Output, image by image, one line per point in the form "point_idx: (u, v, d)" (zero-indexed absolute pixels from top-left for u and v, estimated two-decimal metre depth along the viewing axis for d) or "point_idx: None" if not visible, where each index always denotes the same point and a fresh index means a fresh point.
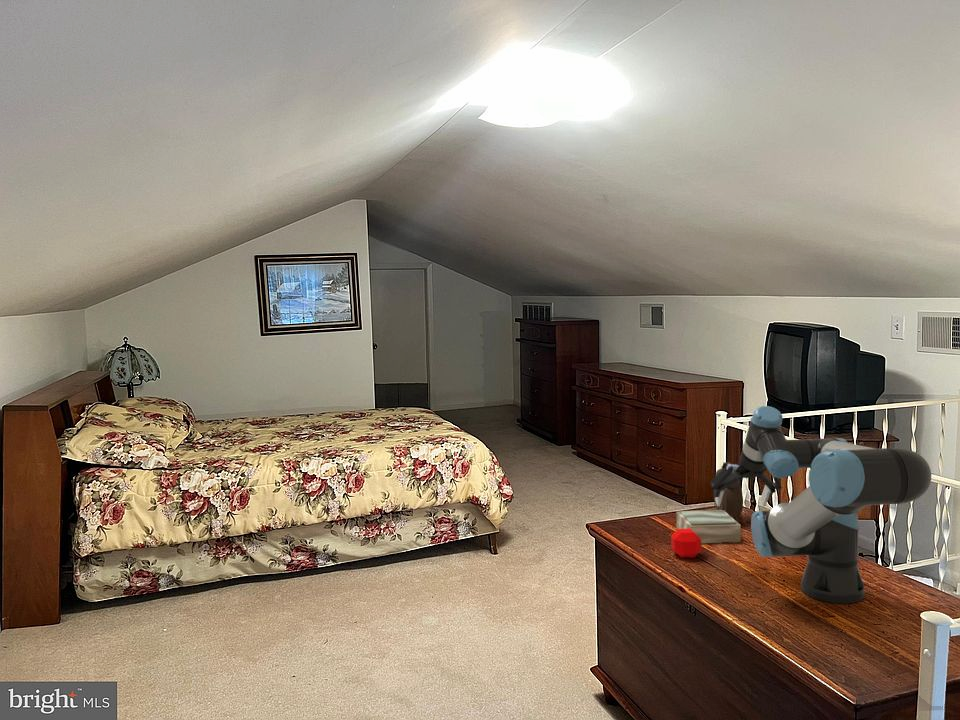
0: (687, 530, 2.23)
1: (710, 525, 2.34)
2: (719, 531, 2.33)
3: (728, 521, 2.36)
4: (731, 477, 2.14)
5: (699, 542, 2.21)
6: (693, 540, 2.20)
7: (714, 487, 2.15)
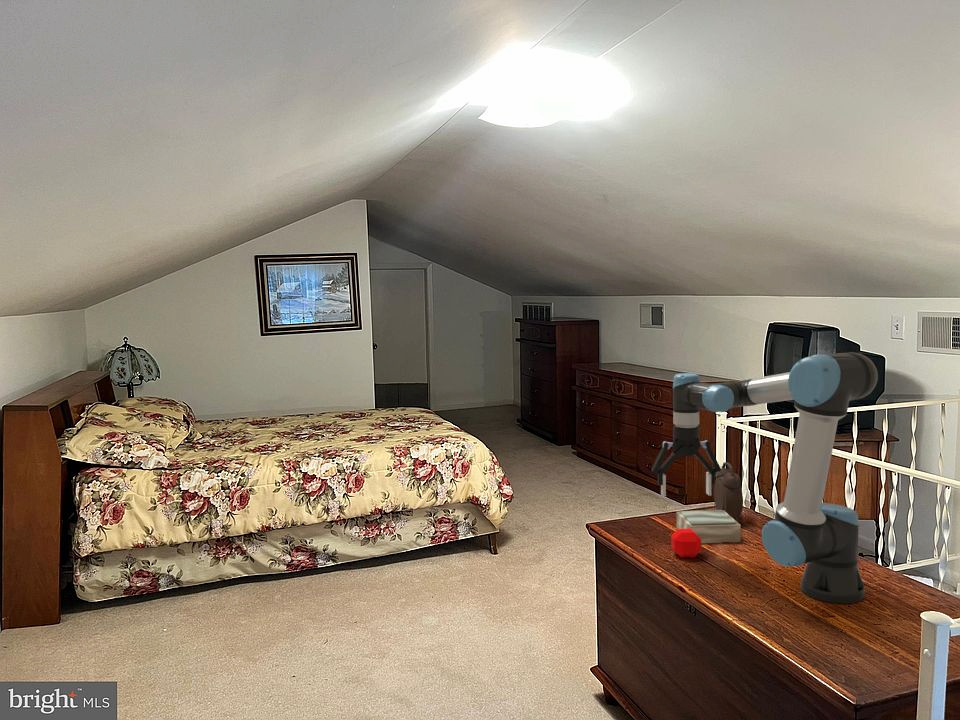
0: (687, 530, 2.23)
1: (710, 525, 2.34)
2: (719, 531, 2.33)
3: (728, 521, 2.36)
4: (669, 458, 2.21)
5: (699, 542, 2.21)
6: (693, 540, 2.20)
7: (655, 469, 2.20)
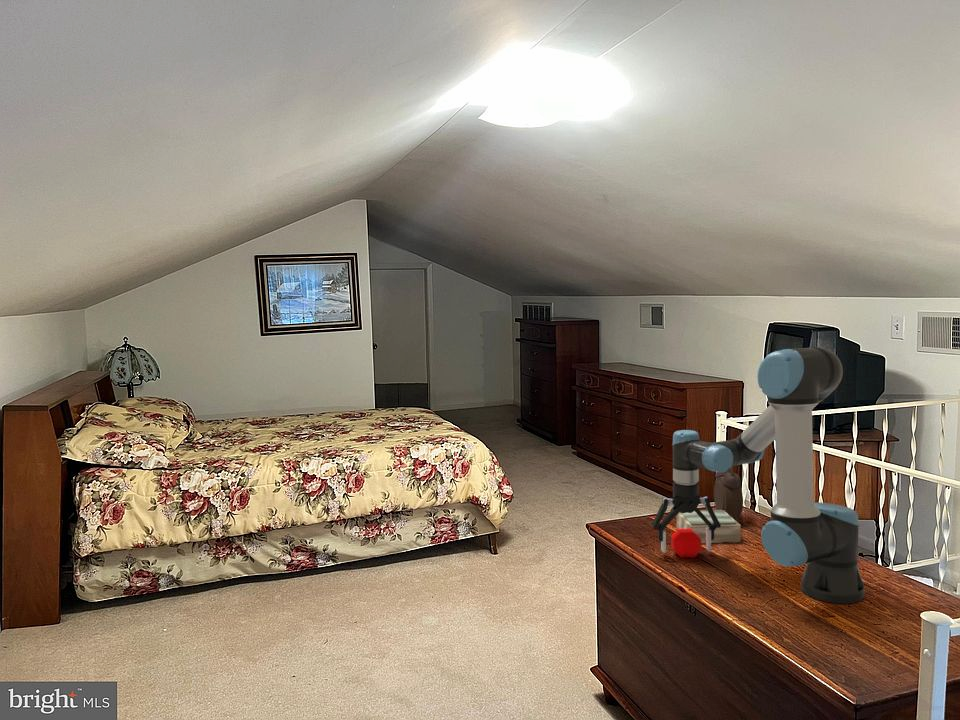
0: (687, 530, 2.23)
1: None
2: (719, 531, 2.33)
3: (728, 521, 2.36)
4: (669, 514, 2.22)
5: (699, 542, 2.21)
6: (693, 540, 2.20)
7: (655, 526, 2.22)
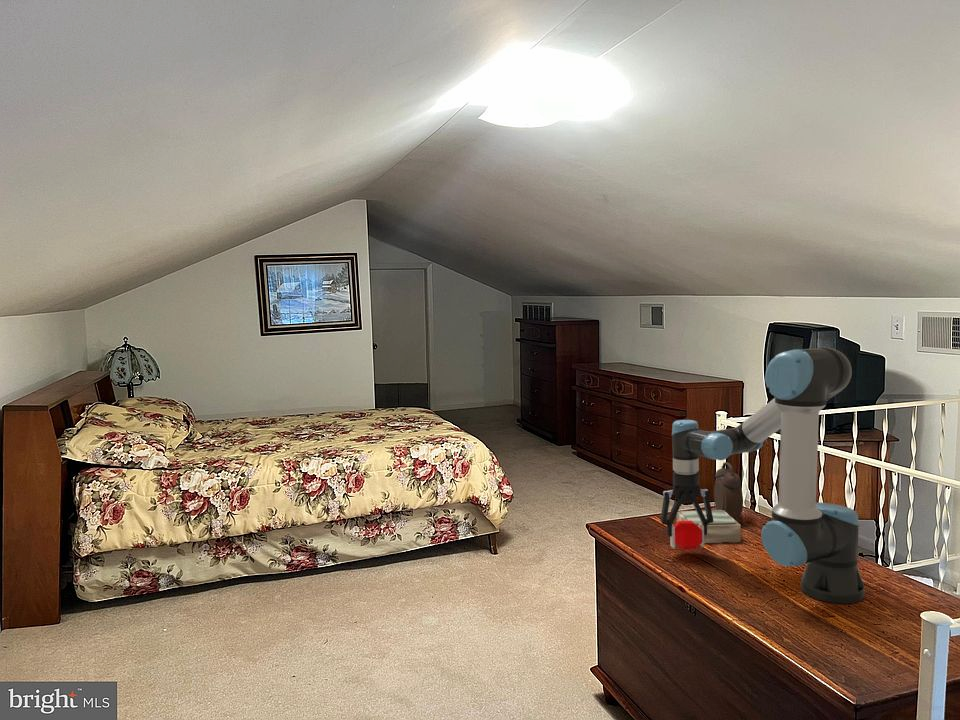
0: (688, 522, 2.23)
1: (710, 525, 2.34)
2: (719, 531, 2.33)
3: (728, 521, 2.36)
4: (673, 507, 2.22)
5: (700, 533, 2.20)
6: (694, 531, 2.19)
7: (663, 521, 2.21)
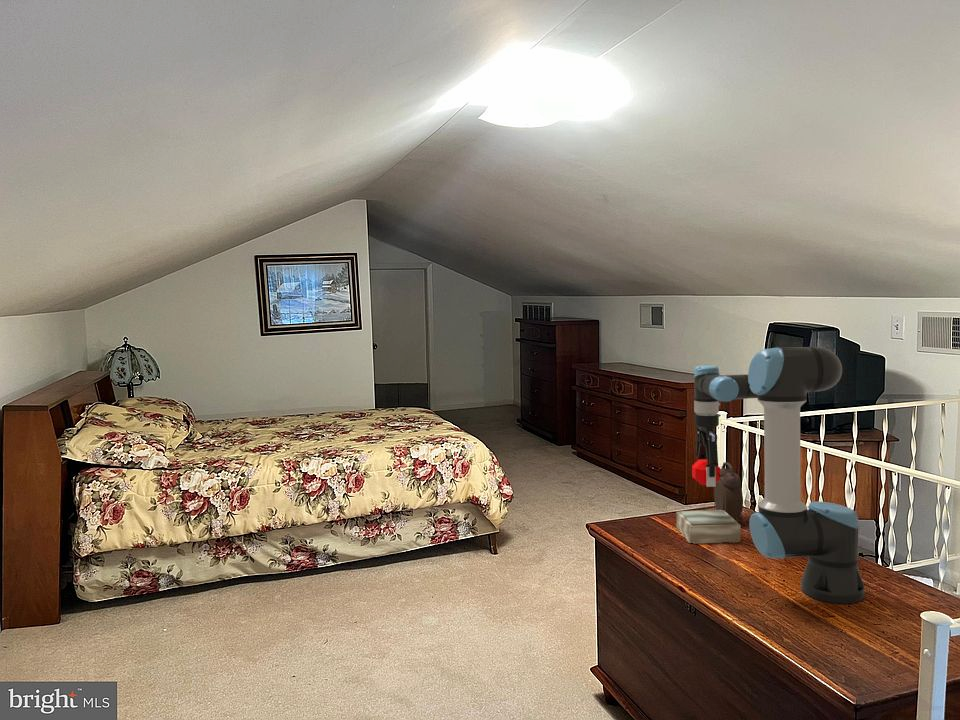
0: None
1: (710, 525, 2.34)
2: (719, 531, 2.33)
3: (728, 521, 2.36)
4: None
5: (701, 472, 2.36)
6: (695, 467, 2.38)
7: (696, 453, 2.46)
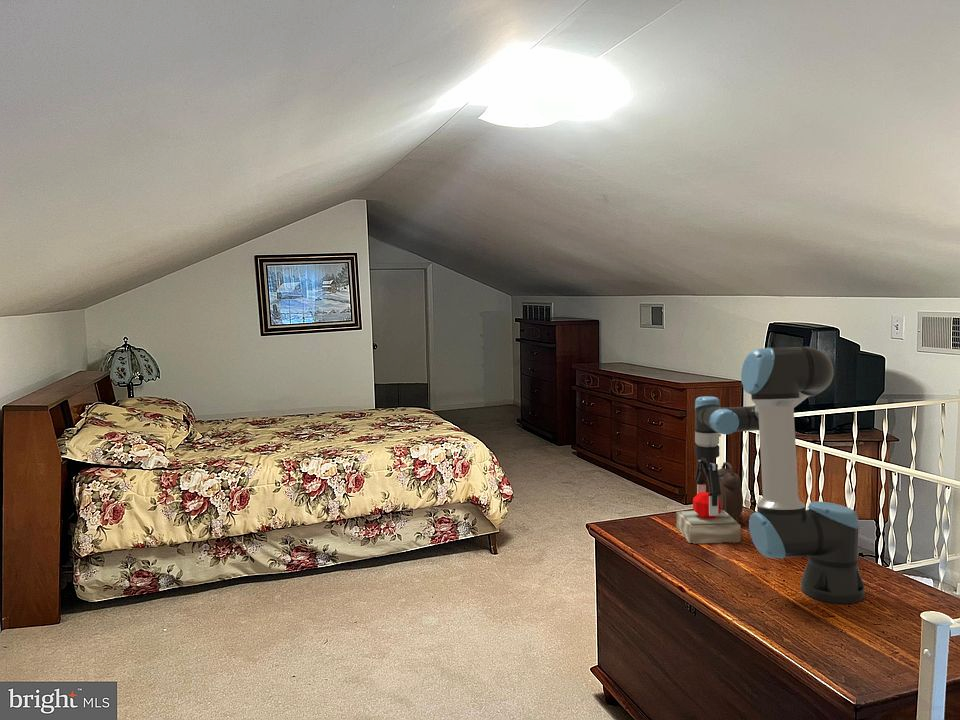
0: (707, 494, 2.40)
1: (710, 525, 2.34)
2: (719, 531, 2.33)
3: (728, 521, 2.36)
4: None
5: (701, 505, 2.37)
6: (696, 500, 2.40)
7: (695, 477, 2.49)
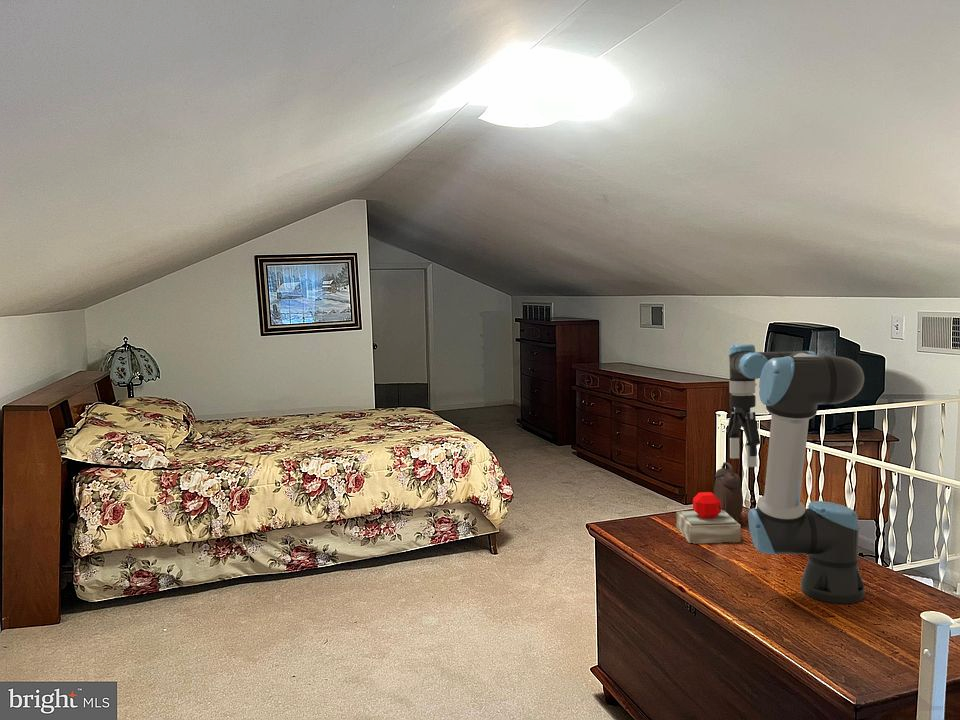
0: (707, 494, 2.40)
1: (710, 525, 2.34)
2: (719, 531, 2.33)
3: (728, 521, 2.36)
4: None
5: (701, 505, 2.37)
6: (696, 500, 2.40)
7: (727, 431, 2.38)
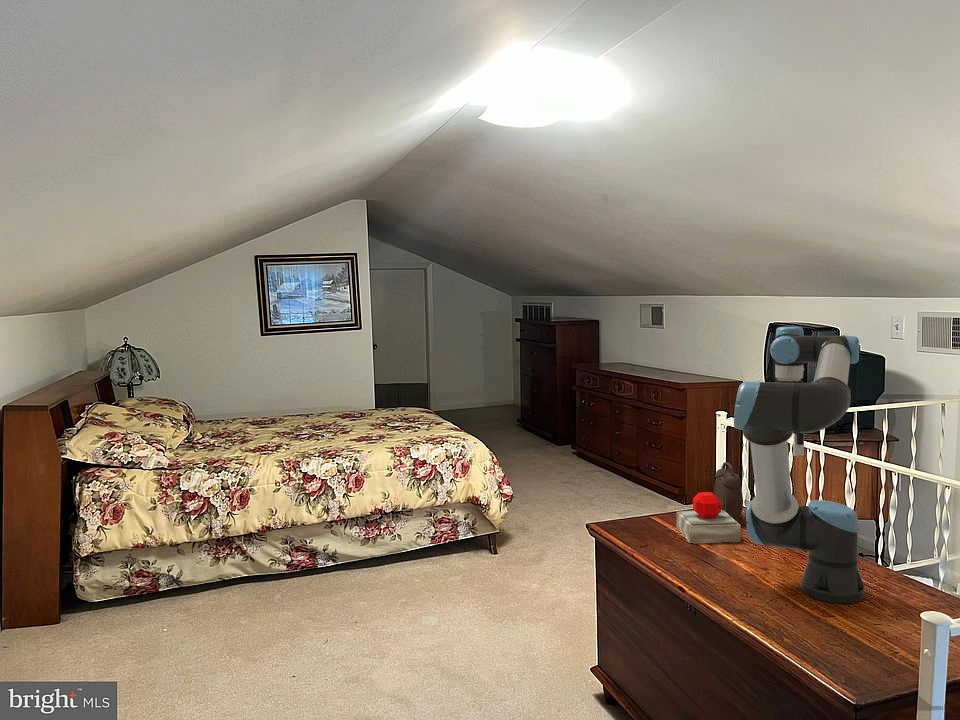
0: (707, 494, 2.40)
1: (710, 525, 2.34)
2: (719, 531, 2.33)
3: (728, 521, 2.36)
4: None
5: (701, 505, 2.37)
6: (696, 500, 2.40)
7: None
